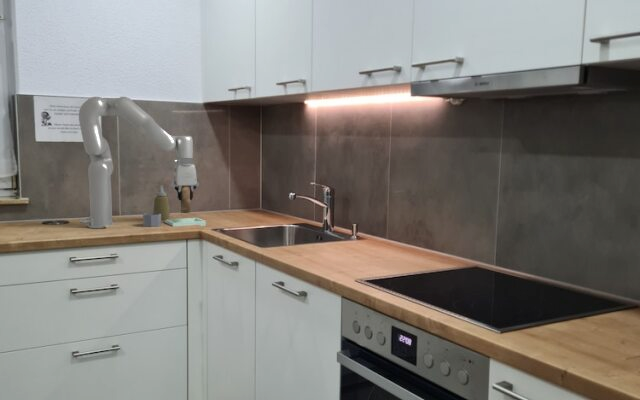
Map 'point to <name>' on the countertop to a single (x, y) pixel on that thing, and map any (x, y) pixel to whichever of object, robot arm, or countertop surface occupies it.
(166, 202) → the squeeze bottle
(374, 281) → the countertop surface
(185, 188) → the walnut pin
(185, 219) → the pale green tray
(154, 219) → the grey block
